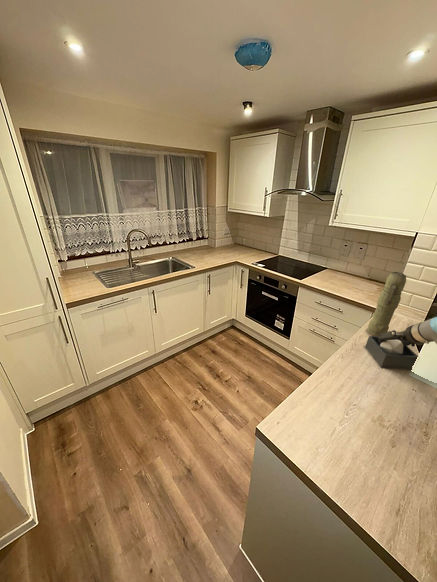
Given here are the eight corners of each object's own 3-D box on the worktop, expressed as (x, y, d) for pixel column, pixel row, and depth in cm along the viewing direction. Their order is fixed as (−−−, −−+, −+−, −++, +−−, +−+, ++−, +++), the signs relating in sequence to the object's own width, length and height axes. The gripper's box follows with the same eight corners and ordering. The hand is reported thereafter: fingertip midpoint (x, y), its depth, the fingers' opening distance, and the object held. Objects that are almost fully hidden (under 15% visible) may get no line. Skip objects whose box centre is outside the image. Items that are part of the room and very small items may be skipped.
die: (385, 345, 115) (378, 331, 112) (408, 346, 108) (400, 331, 105) (383, 359, 110) (375, 345, 107) (406, 360, 103) (398, 345, 100)
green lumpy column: (385, 330, 131) (409, 272, 116) (385, 341, 122) (411, 279, 107) (367, 325, 135) (388, 268, 120) (366, 335, 126) (388, 275, 111)
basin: (393, 348, 117) (398, 337, 114) (413, 369, 104) (419, 357, 101) (364, 346, 117) (369, 335, 114) (380, 367, 104) (385, 355, 102)
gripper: (390, 338, 91) (364, 345, 111) (455, 348, 86) (416, 354, 107) (389, 319, 93) (364, 330, 114) (452, 328, 89) (415, 337, 110)
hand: (389, 341), depth 110 cm, fingers closed on die, 9 cm apart
